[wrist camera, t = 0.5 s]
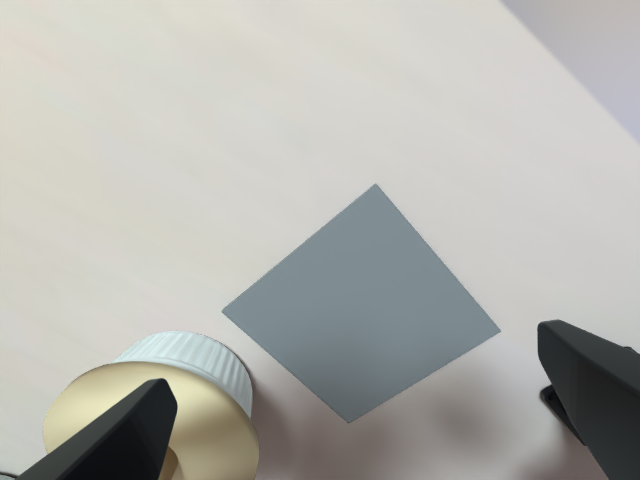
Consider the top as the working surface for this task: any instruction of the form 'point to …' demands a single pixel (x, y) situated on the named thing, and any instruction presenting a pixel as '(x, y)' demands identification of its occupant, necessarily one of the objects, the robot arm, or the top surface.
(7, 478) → the pump dispenser
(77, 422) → the lid
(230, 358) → the ramekin
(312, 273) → the mat
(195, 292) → the top surface
